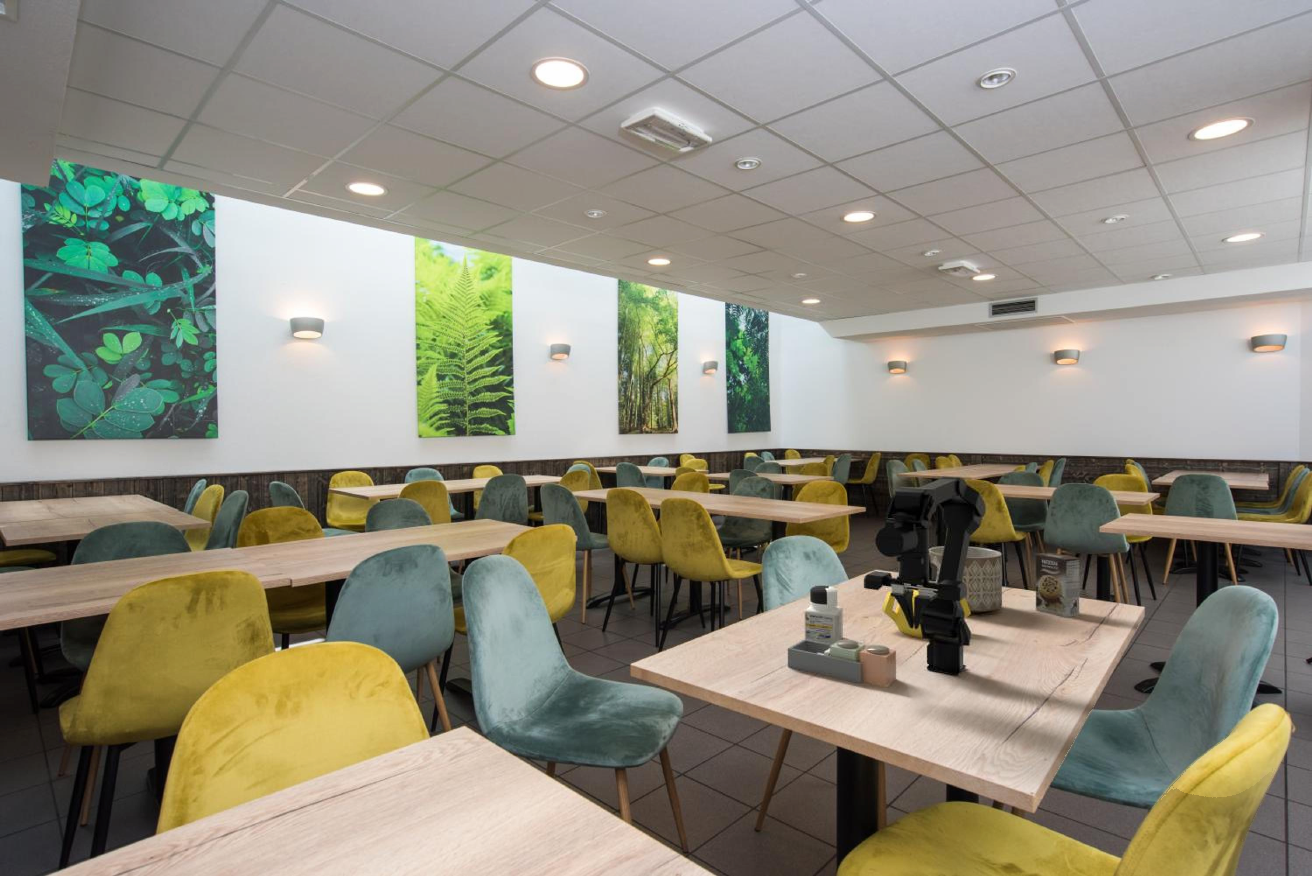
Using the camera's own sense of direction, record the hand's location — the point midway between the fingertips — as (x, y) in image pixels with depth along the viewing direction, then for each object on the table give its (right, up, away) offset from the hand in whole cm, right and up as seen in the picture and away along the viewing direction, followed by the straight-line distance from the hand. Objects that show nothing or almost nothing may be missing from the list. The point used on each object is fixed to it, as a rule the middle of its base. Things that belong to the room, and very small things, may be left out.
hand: (914, 628), depth 135 cm
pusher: (-15, -12, +12) cm, 22 cm away
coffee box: (+61, -11, +55) cm, 83 cm away
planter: (+38, -12, +61) cm, 72 cm away
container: (-10, -12, +32) cm, 36 cm away
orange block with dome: (-6, -12, +5) cm, 14 cm away
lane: (-14, -12, +11) cm, 21 cm away
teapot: (+18, -12, +38) cm, 44 cm away
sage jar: (-11, -12, +9) cm, 19 cm away
